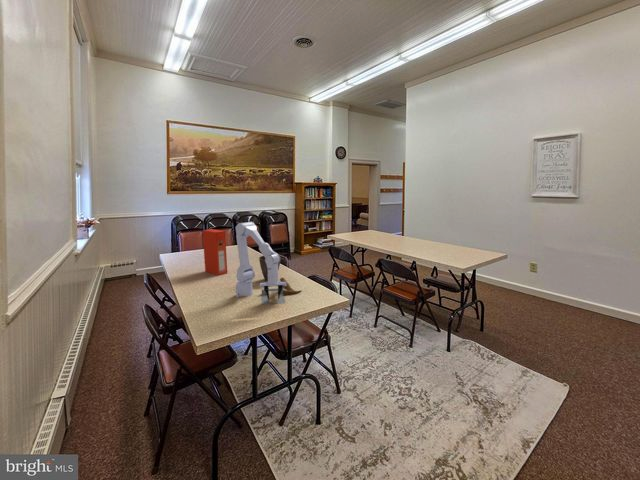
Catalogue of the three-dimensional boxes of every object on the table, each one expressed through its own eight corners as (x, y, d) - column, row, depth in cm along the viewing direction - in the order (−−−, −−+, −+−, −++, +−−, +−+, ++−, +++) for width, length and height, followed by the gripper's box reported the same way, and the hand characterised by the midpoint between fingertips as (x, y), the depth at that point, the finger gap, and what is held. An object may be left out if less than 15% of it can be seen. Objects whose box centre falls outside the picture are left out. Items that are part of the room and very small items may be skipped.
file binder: (217, 275, 224) (215, 232, 219) (204, 271, 235) (202, 230, 229) (227, 273, 230) (225, 231, 225) (214, 269, 241) (212, 229, 235)
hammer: (275, 281, 210) (283, 295, 181) (276, 276, 209) (284, 290, 181) (292, 282, 213) (302, 297, 185) (292, 278, 213) (303, 292, 185)
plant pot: (283, 276, 222) (282, 255, 219) (278, 283, 208) (277, 260, 205) (263, 276, 224) (262, 254, 221) (256, 282, 209) (256, 259, 206)
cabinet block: (269, 303, 169) (268, 294, 168) (268, 299, 175) (268, 291, 174) (278, 303, 169) (278, 294, 169) (277, 299, 176) (277, 290, 175)
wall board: (261, 306, 167) (261, 299, 166) (261, 295, 184) (261, 288, 184) (285, 305, 169) (285, 298, 169) (283, 293, 187) (283, 287, 186)
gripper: (259, 277, 165) (260, 302, 167) (286, 276, 167) (287, 300, 170) (259, 274, 171) (260, 297, 174) (285, 273, 174) (286, 296, 176)
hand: (273, 298), depth 172 cm, fingers closed on cabinet block, 5 cm apart
